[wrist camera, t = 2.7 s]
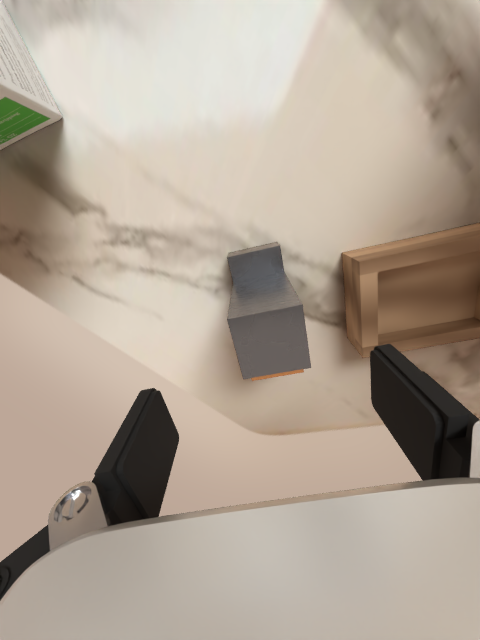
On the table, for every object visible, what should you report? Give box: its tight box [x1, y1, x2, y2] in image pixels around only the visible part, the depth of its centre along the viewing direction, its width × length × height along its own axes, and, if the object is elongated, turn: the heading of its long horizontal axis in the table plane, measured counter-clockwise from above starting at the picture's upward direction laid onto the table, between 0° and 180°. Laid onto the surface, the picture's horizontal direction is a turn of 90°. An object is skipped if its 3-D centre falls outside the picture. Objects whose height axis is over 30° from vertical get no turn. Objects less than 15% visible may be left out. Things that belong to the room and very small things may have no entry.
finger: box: [227, 242, 311, 381], centre depth 18 cm, size 4×7×9 cm, turn 13°
